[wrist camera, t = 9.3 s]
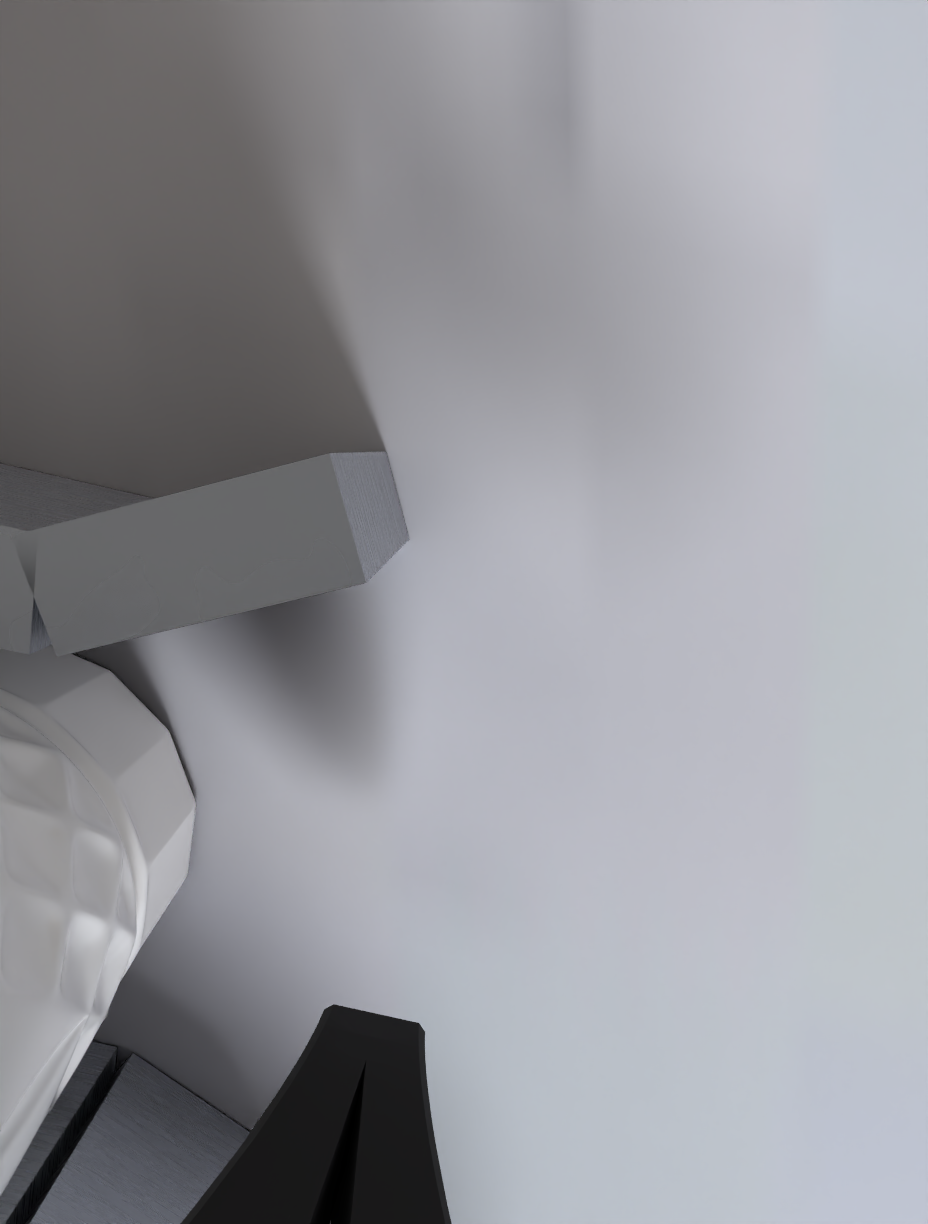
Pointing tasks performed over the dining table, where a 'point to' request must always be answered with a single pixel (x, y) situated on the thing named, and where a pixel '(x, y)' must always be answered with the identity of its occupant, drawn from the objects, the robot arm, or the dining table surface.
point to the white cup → (75, 867)
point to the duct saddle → (130, 608)
